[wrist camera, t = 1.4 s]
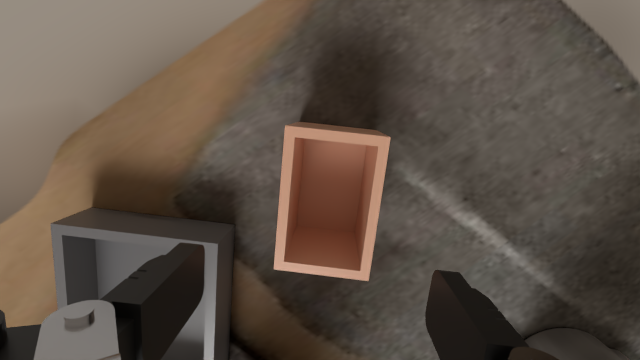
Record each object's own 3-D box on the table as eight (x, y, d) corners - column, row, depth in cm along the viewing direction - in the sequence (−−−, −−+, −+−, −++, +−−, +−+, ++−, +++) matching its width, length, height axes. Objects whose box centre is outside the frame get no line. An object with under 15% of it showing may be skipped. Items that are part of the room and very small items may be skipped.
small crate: (375, 130, 25) (390, 137, 18) (360, 237, 26) (368, 281, 20) (299, 121, 25) (285, 125, 18) (289, 228, 27) (273, 269, 20)
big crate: (235, 224, 27) (217, 243, 23) (227, 368, 30) (211, 406, 26) (91, 207, 27) (50, 223, 23) (99, 351, 30) (64, 386, 26)
